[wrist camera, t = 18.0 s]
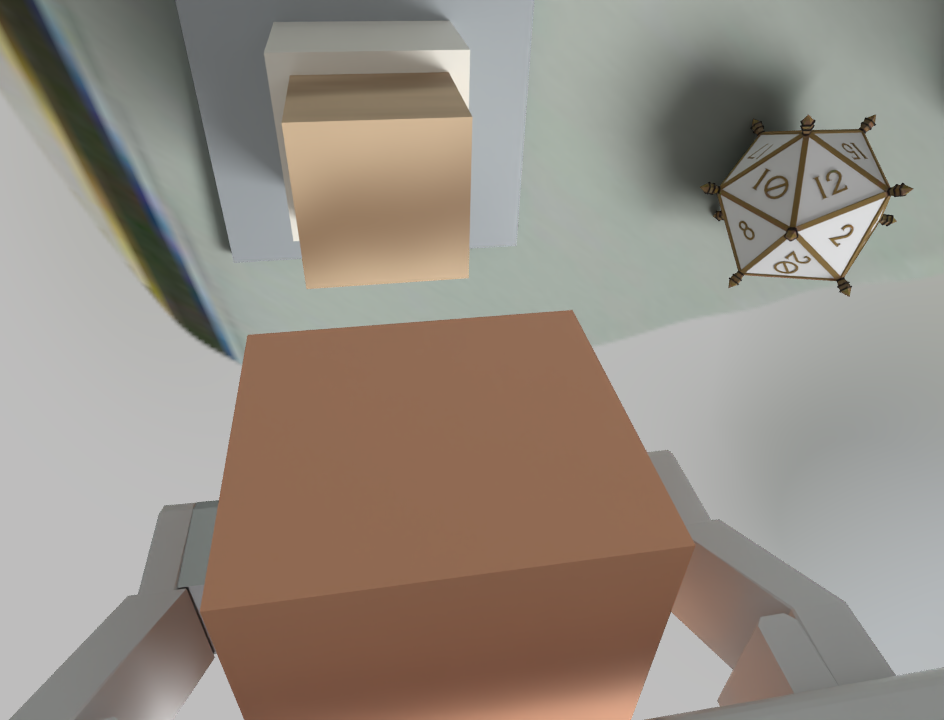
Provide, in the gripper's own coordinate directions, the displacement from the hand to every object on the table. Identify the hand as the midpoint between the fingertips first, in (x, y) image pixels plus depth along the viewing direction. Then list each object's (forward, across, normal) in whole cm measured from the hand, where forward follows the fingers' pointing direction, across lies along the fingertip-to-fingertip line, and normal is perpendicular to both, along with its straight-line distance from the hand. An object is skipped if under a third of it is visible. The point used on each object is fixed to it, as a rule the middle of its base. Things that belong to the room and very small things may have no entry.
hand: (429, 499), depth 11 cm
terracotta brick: (+2, 0, 0) cm, 2 cm away
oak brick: (+17, 0, 0) cm, 17 cm away
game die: (+23, -20, +4) cm, 31 cm away
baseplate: (+23, 0, 0) cm, 23 cm away
